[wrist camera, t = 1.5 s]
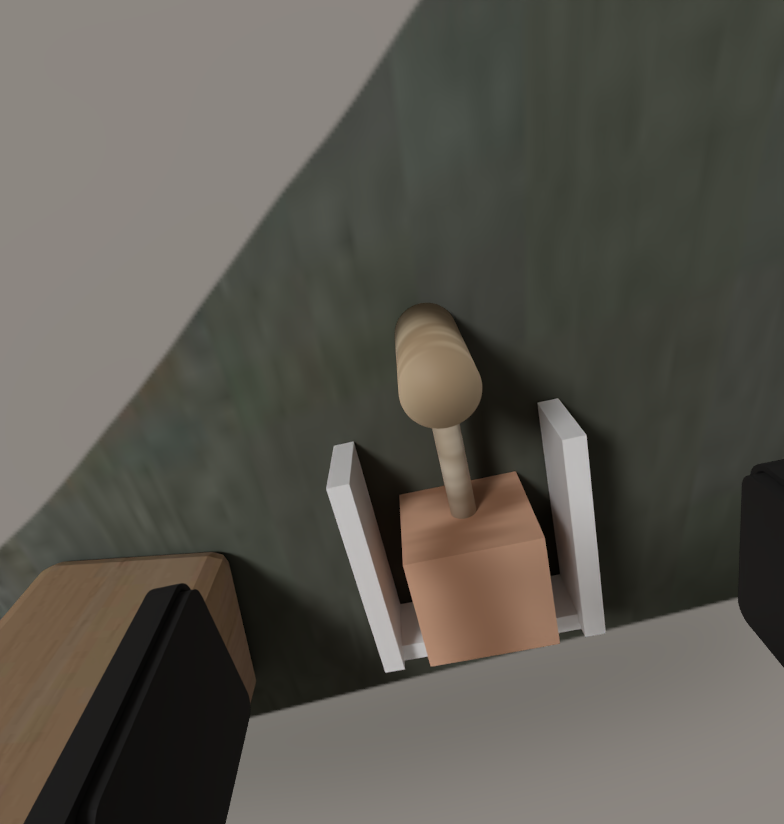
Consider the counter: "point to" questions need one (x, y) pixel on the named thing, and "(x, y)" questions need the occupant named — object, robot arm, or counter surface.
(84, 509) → the counter surface
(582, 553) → the white u-shaped bracket
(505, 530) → the block
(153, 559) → the wooden block
